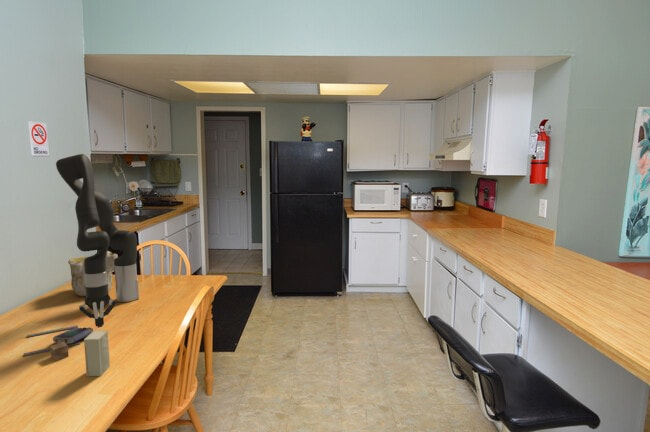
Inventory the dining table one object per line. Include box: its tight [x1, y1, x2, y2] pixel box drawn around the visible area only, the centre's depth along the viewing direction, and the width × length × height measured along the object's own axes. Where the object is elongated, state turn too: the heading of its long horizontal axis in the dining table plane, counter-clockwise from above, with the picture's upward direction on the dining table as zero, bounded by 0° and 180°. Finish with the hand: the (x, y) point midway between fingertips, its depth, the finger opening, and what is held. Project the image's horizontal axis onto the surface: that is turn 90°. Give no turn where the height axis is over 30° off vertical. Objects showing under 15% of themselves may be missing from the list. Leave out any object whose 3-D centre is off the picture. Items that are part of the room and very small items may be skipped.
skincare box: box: [83, 330, 111, 377], centre depth 119 cm, size 6×4×12 cm
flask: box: [52, 327, 94, 344], centre depth 140 cm, size 9×3×11 cm
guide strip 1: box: [26, 325, 79, 338], centre depth 148 cm, size 16×2×1 cm, turn 125°
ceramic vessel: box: [67, 250, 119, 297], centre depth 193 cm, size 23×24×25 cm
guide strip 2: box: [23, 340, 81, 357], centre depth 134 cm, size 16×2×1 cm, turn 125°
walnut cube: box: [49, 342, 70, 362], centre depth 129 cm, size 4×4×4 cm
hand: (99, 326), depth 149 cm, fingers closed
